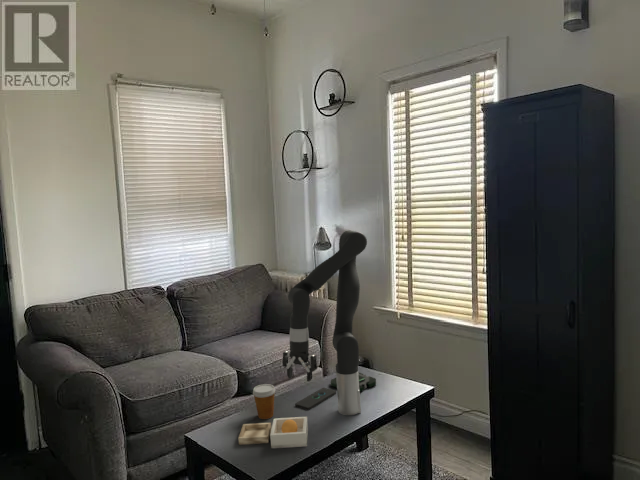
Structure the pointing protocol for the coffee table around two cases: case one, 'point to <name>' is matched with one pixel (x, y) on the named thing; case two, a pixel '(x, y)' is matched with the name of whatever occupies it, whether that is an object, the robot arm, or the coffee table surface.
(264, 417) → the disposable coffee cup
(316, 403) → the smart home device
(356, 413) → the robot arm
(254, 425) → the tray
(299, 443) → the white square bin
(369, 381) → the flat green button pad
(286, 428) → the ball
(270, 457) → the coffee table surface
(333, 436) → the coffee table surface
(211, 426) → the coffee table surface
